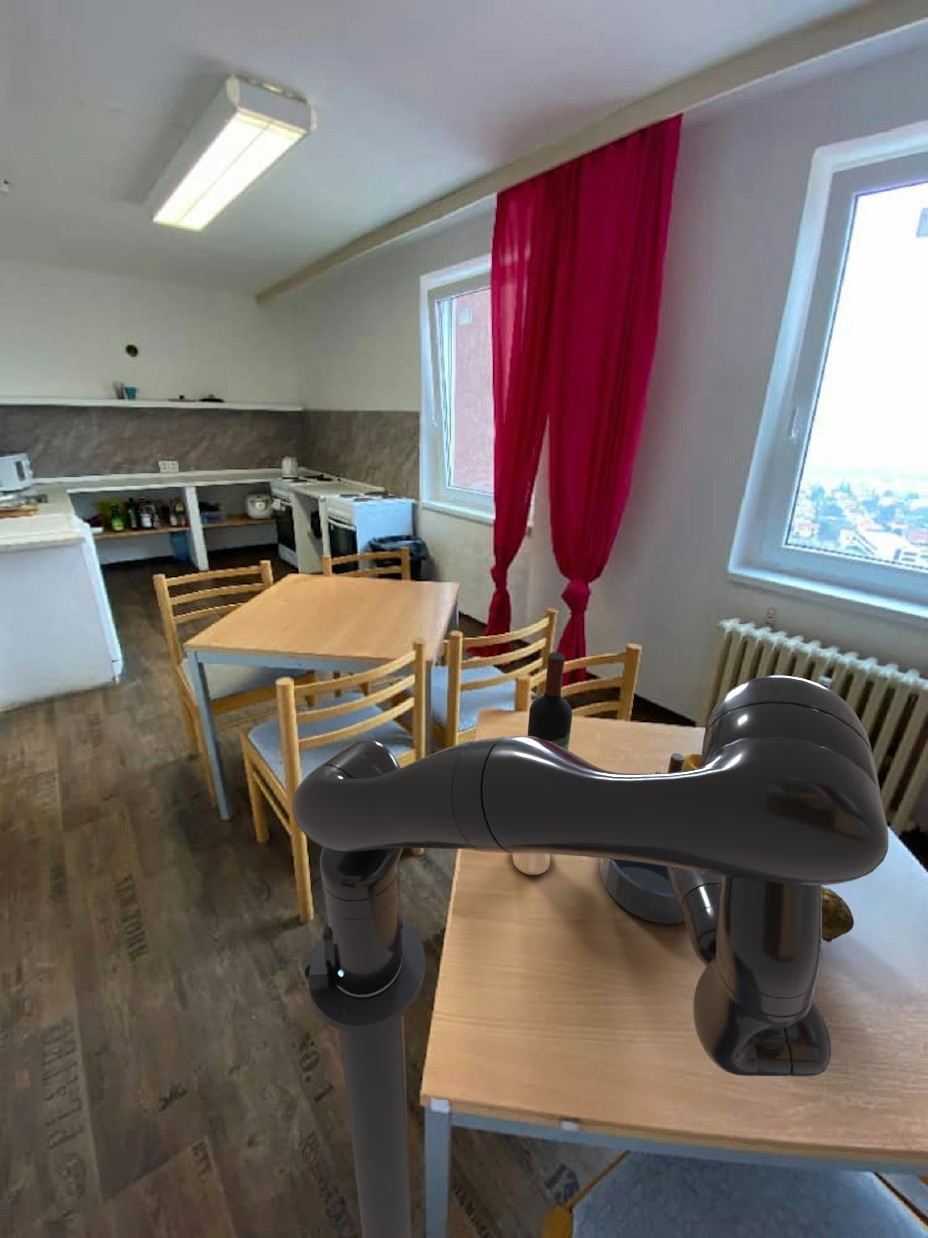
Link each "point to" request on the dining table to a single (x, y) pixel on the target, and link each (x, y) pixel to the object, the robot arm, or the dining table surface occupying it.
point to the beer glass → (531, 863)
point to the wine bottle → (551, 707)
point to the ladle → (676, 763)
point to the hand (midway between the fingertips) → (665, 777)
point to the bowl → (641, 889)
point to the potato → (834, 915)
